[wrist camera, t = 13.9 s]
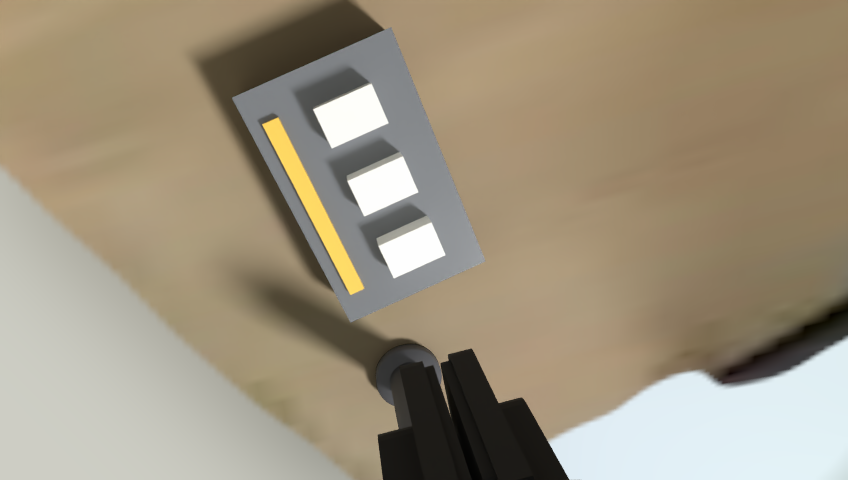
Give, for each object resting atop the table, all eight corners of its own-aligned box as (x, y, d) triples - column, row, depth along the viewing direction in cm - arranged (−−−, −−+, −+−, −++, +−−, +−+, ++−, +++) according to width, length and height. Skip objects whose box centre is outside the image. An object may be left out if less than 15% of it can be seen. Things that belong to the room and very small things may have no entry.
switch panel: (241, 93, 36) (227, 99, 30) (384, 30, 36) (394, 25, 31) (348, 298, 41) (351, 333, 36) (471, 242, 41) (492, 269, 36)
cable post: (370, 351, 42) (389, 481, 29) (434, 338, 43) (481, 459, 30) (381, 406, 44) (404, 553, 31) (443, 393, 44) (491, 531, 31)
